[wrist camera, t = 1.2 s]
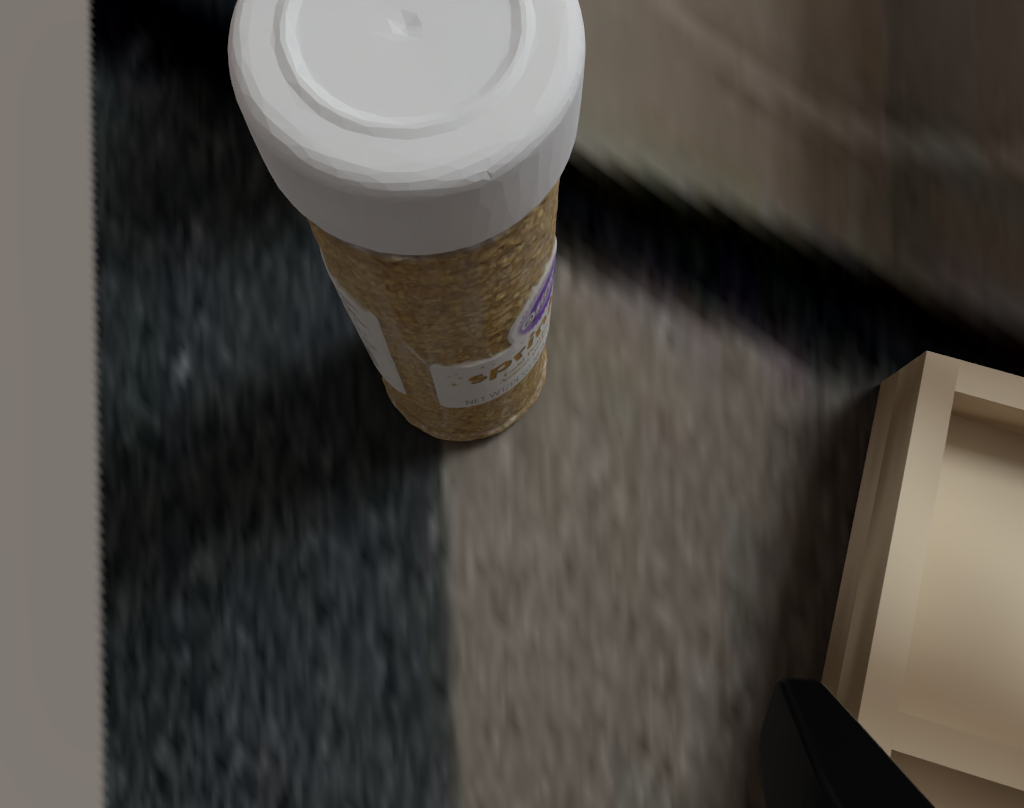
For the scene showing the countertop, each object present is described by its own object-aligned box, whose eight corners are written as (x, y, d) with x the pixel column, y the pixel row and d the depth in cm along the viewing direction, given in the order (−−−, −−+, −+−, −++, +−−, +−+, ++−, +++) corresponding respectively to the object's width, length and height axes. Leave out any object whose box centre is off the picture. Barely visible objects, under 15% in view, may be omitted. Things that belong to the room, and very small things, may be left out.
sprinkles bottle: (535, 455, 23) (565, 211, 10) (366, 432, 23) (176, 163, 10) (557, 295, 24) (608, -108, 11) (395, 274, 24) (260, -147, 11)
